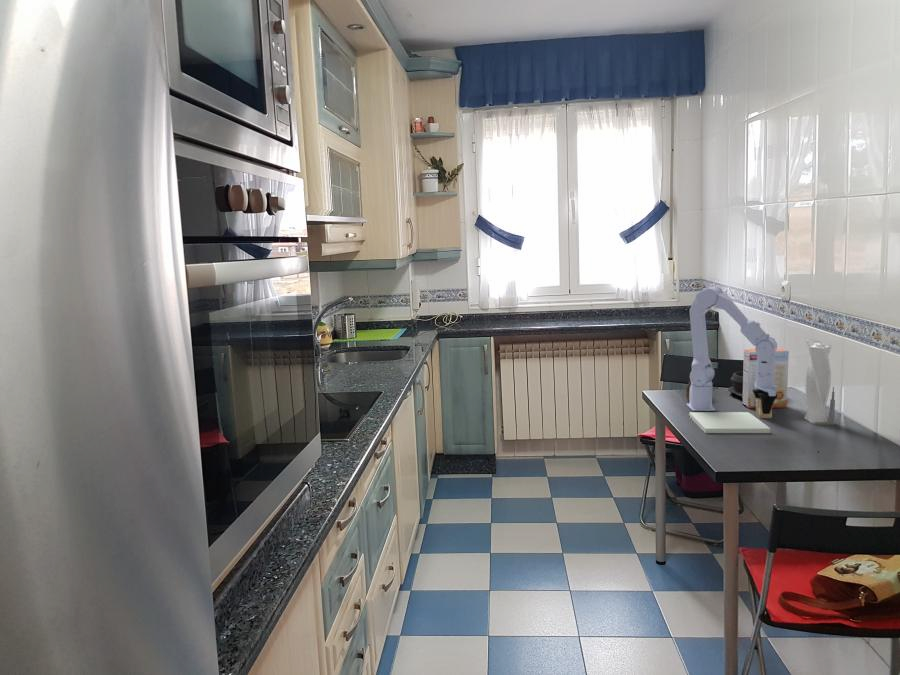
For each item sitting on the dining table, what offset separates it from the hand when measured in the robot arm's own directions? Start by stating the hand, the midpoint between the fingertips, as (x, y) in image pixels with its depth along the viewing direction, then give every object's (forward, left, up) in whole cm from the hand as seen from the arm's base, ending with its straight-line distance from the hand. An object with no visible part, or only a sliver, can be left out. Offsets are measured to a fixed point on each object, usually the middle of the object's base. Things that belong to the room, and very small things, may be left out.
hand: (763, 411), depth 239 cm
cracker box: (-14, +5, -2) cm, 15 cm away
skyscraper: (+6, +15, -2) cm, 16 cm away
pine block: (0, 0, -2) cm, 2 cm away
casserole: (-31, +7, -2) cm, 32 cm away
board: (+10, -15, -2) cm, 18 cm away
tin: (-25, -16, -2) cm, 30 cm away
